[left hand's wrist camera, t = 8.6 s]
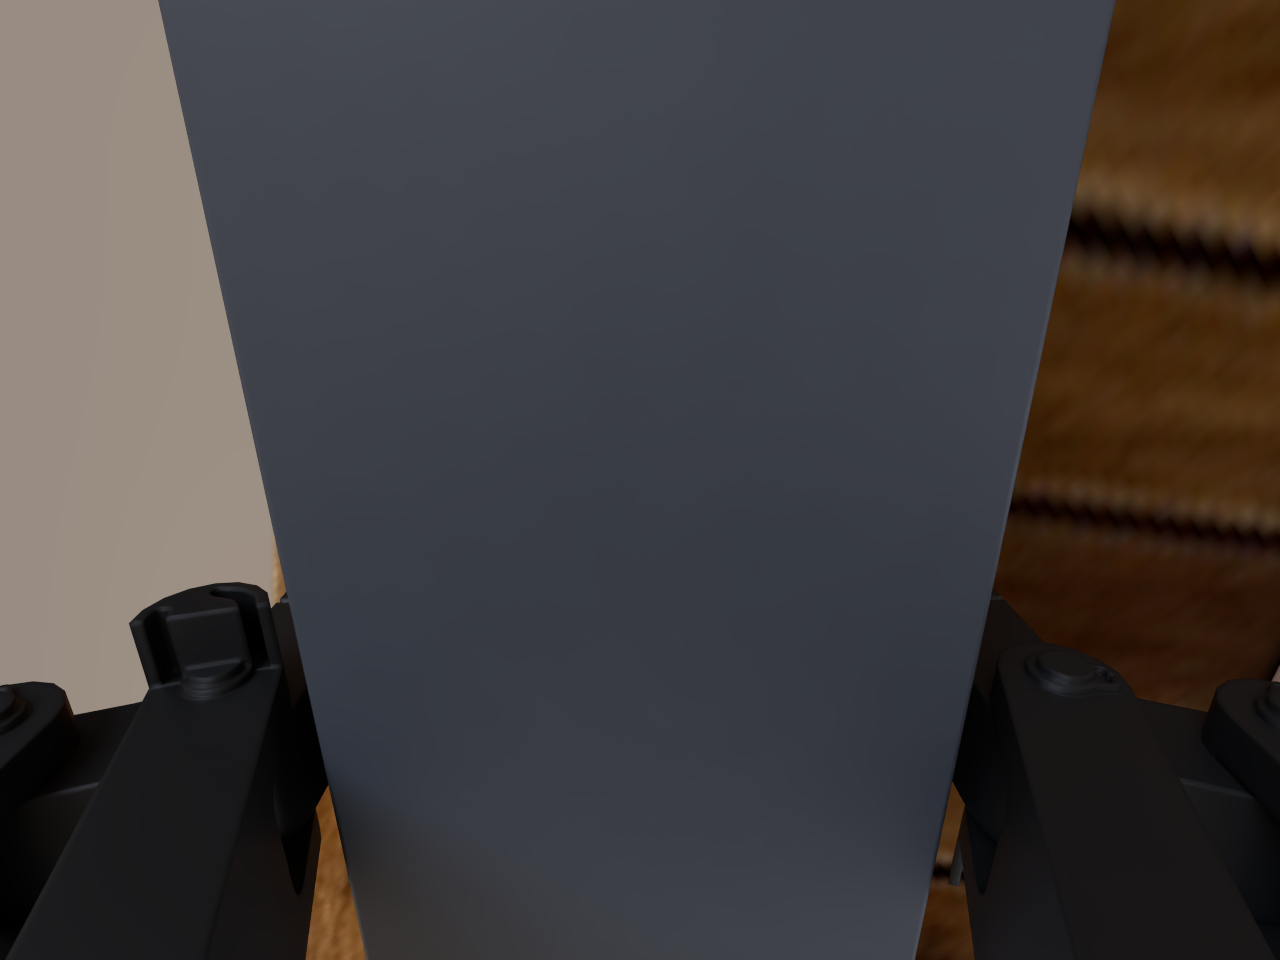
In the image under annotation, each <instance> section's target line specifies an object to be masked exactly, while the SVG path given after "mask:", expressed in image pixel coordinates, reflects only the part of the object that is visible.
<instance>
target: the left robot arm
mask: <svg viewBox="0 0 1280 960" xmlns="http://www.w3.org/2000/svg"><path fill="white" fill-rule="evenodd" d="M129 625H130V628H131V632H132V635H133V638H134V641H135V644H136V648H137V651H138V654H139V657H140V660H141V664H142V667H143V670H144V673H145V676H146V680H147V683H148V686H149V690H148V692H147V694H146V695H145V697H144V699H143V701H142V702H138V703H134V704H129V705H124V706H118V707H113V708H108V709H103V710H98V711H93V712H88V713H82V714H77V715H74V714H73V712H72V709H71V706H70V703H69V701H68V698H67V695H66V692H65V691H64V690H63V689H61V688H60V687H58V686H57V685H55V684H54V683H45V682H26V683H18V684H11V685H8V684H7V685H1V686H0V960H305V958H306V950H307V943H308V935H309V927H310V920H311V912H312V905H313V897H314V889H315V882H316V874H317V867H318V859H319V852H320V844H321V833H320V826H319V821H318V816H317V812H316V806H317V805H318V803H319V801H320V799H321V797H322V795H323V794H324V792H325V790H326V788H327V786H328V780H327V775H326V770H325V766H324V761H323V757H322V752H321V747H320V743H319V738H318V734H317V729H316V724H315V720H314V715H313V711H312V706H311V701H310V697H309V692H308V687H307V683H306V678H305V674H304V669H303V664H302V660H301V655H300V651H299V646H298V641H297V637H296V632H295V628H294V623H293V618H292V614H291V609H290V605H289V600H288V595H287V592H286V593H285V594H284V595H283V596H282V597H281V598H280V603H276V604H275V605H274V606H273V607H272V608H271V606H270V602H269V597H268V593H267V592H266V591H264V590H263V589H261V588H260V587H259V586H257V585H252V584H246V583H240V582H234V583H215V584H211V585H206V586H201V587H196V588H191V589H188V590H185V591H182V592H180V593H177V594H174V595H171V596H169V597H166V598H163V599H162V600H160V601H158V602H156V603H154V604H153V605H151V606H149V607H147V608H146V609H144V610H142V611H141V612H140V613H139V614H138V615H137V616H136V617H135V618H134V619H133V620H132V621H131V622H130V623H129ZM952 781H953V783H954V785H955V787H956V789H957V791H958V792H959V794H960V796H961V798H962V800H963V802H964V804H965V807H964V812H963V816H962V820H961V825H960V829H959V834H958V838H957V843H956V847H955V852H954V856H953V861H952V865H951V870H950V877H949V883H948V884H951V885H955V886H959V881H960V877H961V873H962V871H963V873H964V880H965V888H966V895H967V903H968V910H969V918H970V925H971V933H972V941H973V948H974V956H975V960H1280V682H1277V681H1273V682H1272V681H1265V680H1258V679H1251V678H1246V679H1236V680H1228V681H1226V682H1225V683H1223V684H1222V685H1220V686H1219V687H1217V689H1216V692H1215V695H1214V697H1213V700H1212V703H1211V705H1210V708H1209V711H1208V712H1205V711H1199V710H1194V709H1189V708H1184V707H1179V706H1173V705H1168V704H1163V703H1158V702H1153V701H1148V700H1143V699H1139V698H1136V696H1135V694H1134V692H1133V690H1132V688H1131V687H1130V686H1129V685H1128V683H1127V682H1126V681H1125V680H1124V679H1123V678H1122V676H1121V675H1120V674H1119V673H1118V672H1116V671H1115V670H1113V669H1112V668H1110V667H1109V666H1107V665H1106V664H1104V663H1103V662H1102V661H1100V660H1099V659H1096V658H1094V657H1091V656H1089V655H1087V654H1084V653H1082V652H1080V651H1077V650H1075V649H1072V648H1067V647H1063V646H1059V645H1055V644H1051V643H1044V642H1043V641H1042V640H1041V639H1040V638H1039V637H1038V636H1037V635H1036V633H1035V632H1034V631H1033V630H1032V629H1031V628H1030V627H1029V626H1028V625H1027V624H1026V623H1025V622H1024V621H1023V619H1022V618H1021V617H1020V616H1019V615H1018V614H1017V613H1016V612H1015V611H1014V610H1013V609H1012V608H1011V606H1010V605H1009V604H1008V603H1007V602H1006V601H1005V600H1001V596H1000V595H999V594H998V592H997V591H996V590H995V589H994V588H992V593H991V598H990V603H989V607H988V612H987V617H986V622H985V627H984V631H983V636H982V641H981V646H980V650H979V655H978V660H977V665H976V670H975V674H974V679H973V684H972V689H971V693H970V698H969V703H968V708H967V713H966V717H965V722H964V727H963V732H962V736H961V741H960V746H959V751H958V756H957V760H956V765H955V770H954V775H953V779H952Z"/></svg>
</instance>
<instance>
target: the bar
mask: <svg viewBox="0 0 1280 960" xmlns="http://www.w3.org/2000/svg"><path fill="white" fill-rule="evenodd" d="M158 1H159V6H160V10H161V15H162V20H163V24H164V29H165V33H166V38H167V43H168V47H169V52H170V56H171V61H172V66H173V70H174V75H175V80H176V84H177V89H178V93H179V98H180V102H181V107H182V112H183V116H184V121H185V126H186V130H187V135H188V139H189V144H190V149H191V153H192V158H193V162H194V167H195V172H196V176H197V181H198V185H199V190H200V195H201V199H202V204H203V208H204V213H205V218H206V222H207V227H208V232H209V236H210V241H211V245H212V250H213V254H214V259H215V264H216V268H217V273H218V278H219V282H220V287H221V291H222V296H223V300H224V305H225V310H226V314H227V319H228V324H229V328H230V333H231V337H232V342H233V347H234V351H235V356H236V360H237V365H238V370H239V374H240V379H241V383H242V388H243V393H244V397H245V402H246V406H247V411H248V416H249V420H250V425H251V430H252V434H253V439H254V443H255V448H256V452H257V457H258V462H259V466H260V471H261V475H262V480H263V485H264V489H265V494H266V499H267V503H268V508H269V512H270V517H271V522H272V526H273V531H274V535H275V540H276V545H277V549H278V554H279V559H280V563H281V568H282V572H283V577H284V582H285V586H286V591H287V595H288V600H289V605H290V609H291V614H292V618H293V623H294V628H295V632H296V637H297V641H298V646H299V651H300V655H301V660H302V664H303V669H304V674H305V678H306V683H307V687H308V692H309V697H310V701H311V706H312V711H313V715H314V720H315V724H316V729H317V734H318V738H319V743H320V747H321V752H322V757H323V761H324V766H325V770H326V775H327V780H328V784H329V789H330V793H331V798H332V803H333V807H334V812H335V816H336V821H337V826H338V830H339V835H340V839H341V844H342V849H343V853H344V858H345V863H346V867H347V872H348V876H349V881H350V886H351V890H352V895H353V899H354V904H355V909H356V913H357V918H358V922H359V927H360V932H361V936H362V941H363V945H364V950H365V955H366V959H367V960H915V956H916V952H917V947H918V942H919V937H920V932H921V928H922V923H923V918H924V913H925V909H926V904H927V899H928V894H929V889H930V885H931V880H932V875H933V870H934V866H935V861H936V856H937V851H938V846H939V842H940V837H941V832H942V827H943V823H944V818H945V813H946V808H947V803H948V799H949V794H950V789H951V784H952V779H953V775H954V770H955V765H956V760H957V756H958V751H959V746H960V741H961V736H962V732H963V727H964V722H965V717H966V713H967V708H968V703H969V698H970V693H971V689H972V684H973V679H974V674H975V670H976V665H977V660H978V655H979V650H980V646H981V641H982V636H983V631H984V627H985V622H986V617H987V612H988V607H989V603H990V598H991V593H992V588H993V584H994V579H995V574H996V569H997V564H998V560H999V555H1000V550H1001V545H1002V541H1003V536H1004V531H1005V526H1006V521H1007V517H1008V512H1009V507H1010V502H1011V498H1012V493H1013V488H1014V483H1015V478H1016V474H1017V469H1018V464H1019V459H1020V455H1021V450H1022V445H1023V440H1024V435H1025V431H1026V426H1027V421H1028V416H1029V411H1030V407H1031V402H1032V397H1033V392H1034V388H1035V383H1036V378H1037V373H1038V368H1039V364H1040V359H1041V354H1042V349H1043V345H1044V340H1045V335H1046V330H1047V325H1048V321H1049V316H1050V311H1051V306H1052V302H1053V297H1054V292H1055V287H1056V282H1057V278H1058V273H1059V268H1060V263H1061V259H1062V254H1063V249H1064V244H1065V239H1066V235H1067V230H1068V225H1069V220H1070V216H1071V211H1072V206H1073V201H1074V196H1075V192H1076V187H1077V182H1078V177H1079V173H1080V168H1081V163H1082V158H1083V153H1084V149H1085V144H1086V139H1087V134H1088V130H1089V125H1090V120H1091V115H1092V110H1093V106H1094V101H1095V96H1096V91H1097V87H1098V82H1099V77H1100V72H1101V67H1102V63H1103V58H1104V53H1105V48H1106V44H1107V39H1108V34H1109V29H1110V24H1111V20H1112V15H1113V10H1114V5H1115V0H158Z"/></svg>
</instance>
